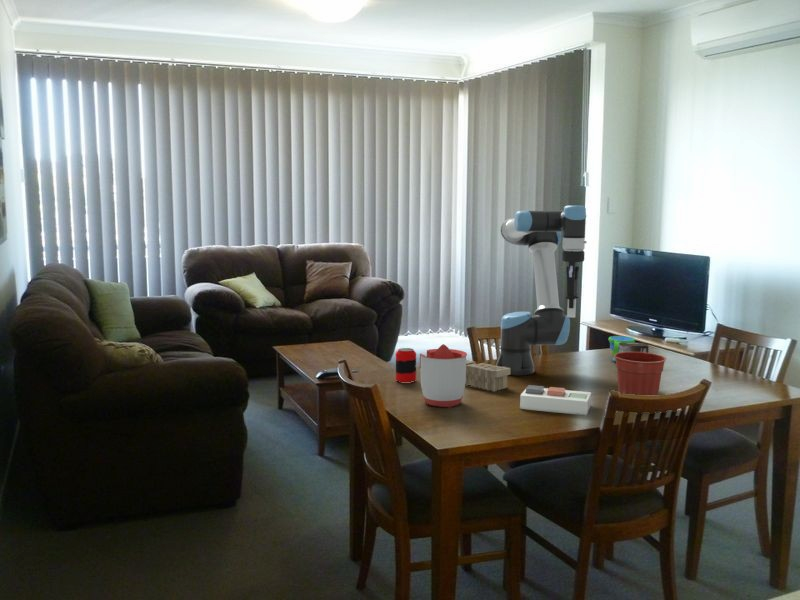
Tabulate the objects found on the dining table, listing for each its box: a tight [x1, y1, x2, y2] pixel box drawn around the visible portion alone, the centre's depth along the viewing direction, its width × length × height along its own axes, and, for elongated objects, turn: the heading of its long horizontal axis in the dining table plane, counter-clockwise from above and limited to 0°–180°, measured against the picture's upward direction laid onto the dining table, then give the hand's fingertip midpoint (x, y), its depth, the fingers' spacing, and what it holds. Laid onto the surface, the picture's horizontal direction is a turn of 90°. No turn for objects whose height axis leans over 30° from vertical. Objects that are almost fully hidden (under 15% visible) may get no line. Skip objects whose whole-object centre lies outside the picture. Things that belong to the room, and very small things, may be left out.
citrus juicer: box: [416, 344, 468, 408], centre depth 249 cm, size 16×17×20 cm
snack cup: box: [608, 335, 636, 364], centre depth 312 cm, size 16×10×10 cm
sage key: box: [570, 394, 587, 399], centre depth 242 cm, size 5×5×3 cm
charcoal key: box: [525, 384, 545, 395], centre depth 247 cm, size 5×5×3 cm
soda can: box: [395, 347, 417, 382], centre depth 279 cm, size 8×8×12 cm
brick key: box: [547, 386, 566, 397], centre depth 244 cm, size 5×5×3 cm
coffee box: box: [619, 342, 650, 353], centre depth 270 cm, size 9×6×16 cm
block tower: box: [466, 359, 511, 392], centre depth 276 cm, size 8×8×29 cm
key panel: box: [519, 387, 592, 416], centre depth 245 cm, size 21×12×4 cm, turn 70°
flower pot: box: [614, 352, 667, 396], centre depth 248 cm, size 16×16×16 cm
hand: (571, 317), depth 263 cm, fingers closed
